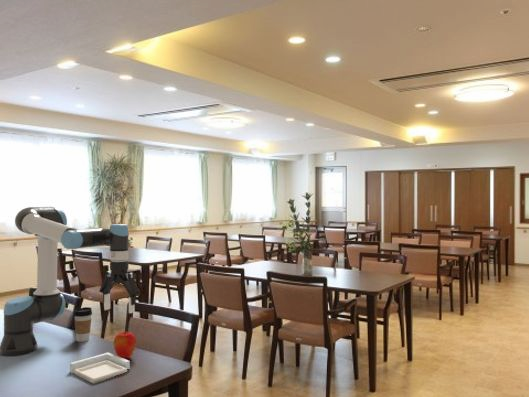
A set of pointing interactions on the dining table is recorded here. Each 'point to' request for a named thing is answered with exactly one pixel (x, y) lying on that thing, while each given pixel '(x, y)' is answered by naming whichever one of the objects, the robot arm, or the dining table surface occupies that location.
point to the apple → (124, 344)
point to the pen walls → (98, 359)
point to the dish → (100, 371)
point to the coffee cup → (83, 323)
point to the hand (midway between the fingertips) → (119, 311)
